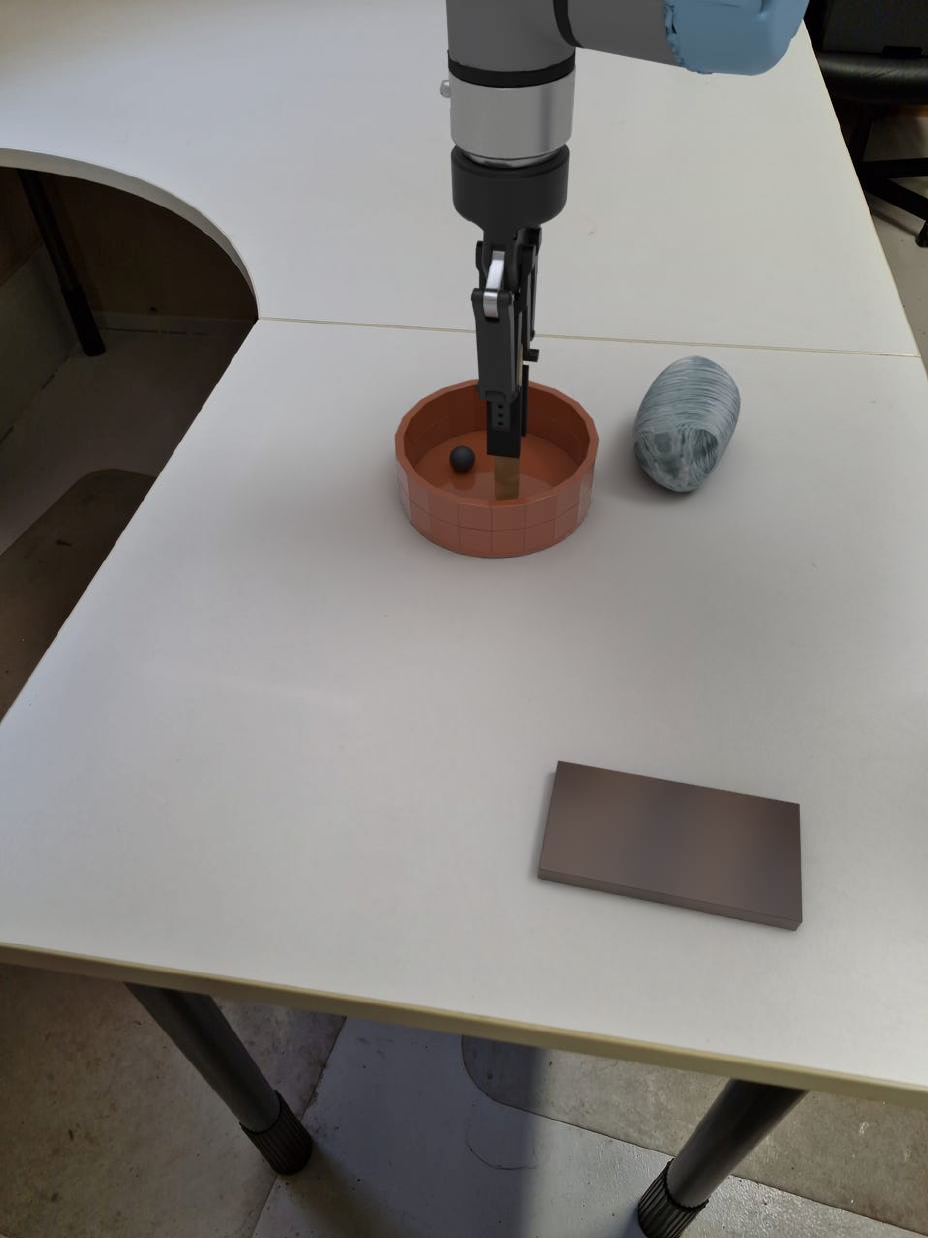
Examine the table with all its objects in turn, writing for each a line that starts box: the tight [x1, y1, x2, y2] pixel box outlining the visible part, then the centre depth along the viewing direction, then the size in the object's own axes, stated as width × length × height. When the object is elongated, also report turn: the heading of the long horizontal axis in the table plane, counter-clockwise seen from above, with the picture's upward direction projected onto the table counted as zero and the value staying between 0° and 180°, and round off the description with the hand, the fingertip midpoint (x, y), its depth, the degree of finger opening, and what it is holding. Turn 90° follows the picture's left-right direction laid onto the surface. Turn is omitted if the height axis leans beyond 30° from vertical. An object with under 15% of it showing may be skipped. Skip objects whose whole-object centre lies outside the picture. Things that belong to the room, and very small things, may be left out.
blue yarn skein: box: [631, 355, 741, 493], centre depth 78 cm, size 14×10×10 cm
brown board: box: [537, 760, 804, 931], centre depth 56 cm, size 16×8×2 cm, turn 77°
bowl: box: [394, 378, 600, 559], centre depth 77 cm, size 18×18×6 cm
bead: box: [449, 445, 475, 472], centre depth 79 cm, size 2×2×2 cm
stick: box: [494, 343, 523, 501], centre depth 70 cm, size 2×2×15 cm
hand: (507, 442), depth 72 cm, fingers closed on stick, 2 cm apart
